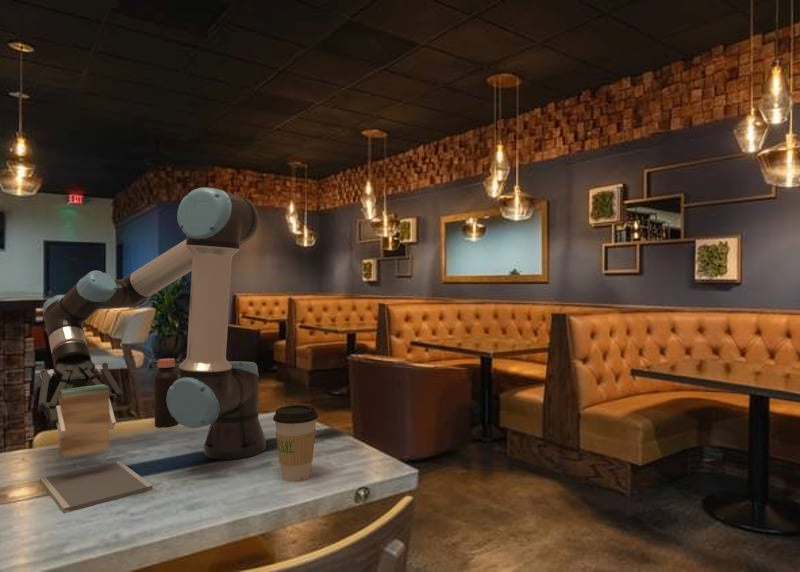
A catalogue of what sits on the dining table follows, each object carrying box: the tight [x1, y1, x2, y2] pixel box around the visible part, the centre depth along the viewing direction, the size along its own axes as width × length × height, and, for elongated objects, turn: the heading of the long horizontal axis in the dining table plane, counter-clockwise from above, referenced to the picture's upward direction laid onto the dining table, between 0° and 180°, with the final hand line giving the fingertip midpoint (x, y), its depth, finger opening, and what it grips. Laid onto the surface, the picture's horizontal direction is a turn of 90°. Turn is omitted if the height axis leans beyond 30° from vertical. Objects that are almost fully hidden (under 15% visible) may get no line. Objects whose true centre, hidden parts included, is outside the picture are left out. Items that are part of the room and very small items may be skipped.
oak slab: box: [58, 383, 110, 459], centre depth 118 cm, size 4×9×14 cm, turn 134°
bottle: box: [153, 357, 179, 428], centre depth 163 cm, size 7×7×20 cm
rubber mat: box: [39, 460, 153, 514], centre depth 114 cm, size 22×16×1 cm
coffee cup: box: [272, 404, 319, 483], centre depth 118 cm, size 10×10×15 cm
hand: (88, 430), depth 116 cm, fingers closed on oak slab, 9 cm apart
